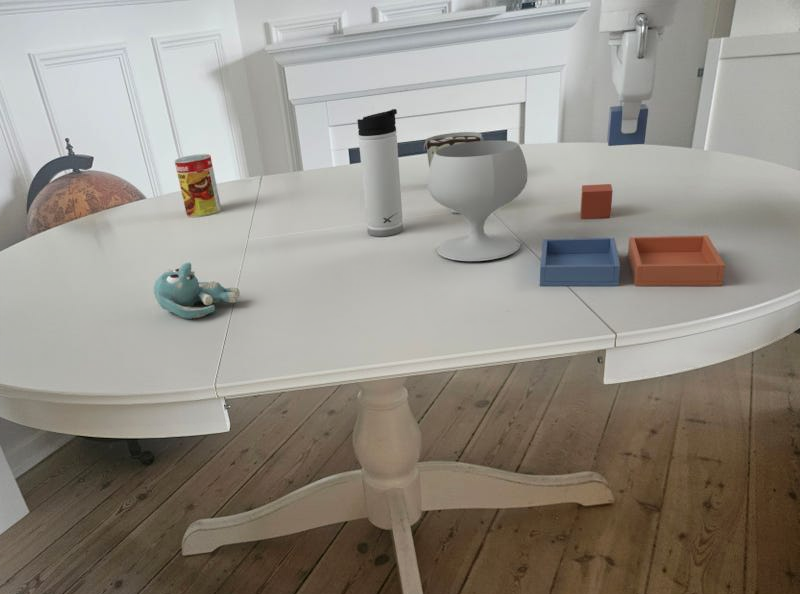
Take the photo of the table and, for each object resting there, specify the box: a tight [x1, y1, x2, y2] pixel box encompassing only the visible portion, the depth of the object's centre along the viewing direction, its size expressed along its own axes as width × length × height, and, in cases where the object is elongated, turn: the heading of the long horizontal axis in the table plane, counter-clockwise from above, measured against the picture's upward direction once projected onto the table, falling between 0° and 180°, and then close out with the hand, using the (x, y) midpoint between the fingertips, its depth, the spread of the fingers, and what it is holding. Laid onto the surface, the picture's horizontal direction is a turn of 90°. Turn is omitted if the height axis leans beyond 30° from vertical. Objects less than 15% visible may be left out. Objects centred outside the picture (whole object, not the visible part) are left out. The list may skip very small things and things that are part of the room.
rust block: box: [580, 183, 614, 220], centre depth 103 cm, size 4×4×4 cm
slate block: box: [606, 103, 649, 147], centre depth 85 cm, size 4×4×4 cm
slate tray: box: [539, 237, 621, 287], centre depth 83 cm, size 9×11×3 cm
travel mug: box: [357, 108, 404, 238], centre depth 106 cm, size 6×7×20 cm
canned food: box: [174, 153, 222, 218], centre depth 140 cm, size 8×8×12 cm
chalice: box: [427, 139, 528, 262], centre depth 93 cm, size 14×14×15 cm
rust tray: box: [627, 234, 726, 287], centre depth 79 cm, size 9×11×3 cm
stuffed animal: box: [153, 261, 241, 320], centre depth 88 cm, size 11×7×12 cm
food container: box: [423, 131, 485, 169], centre depth 134 cm, size 12×6×10 cm, turn 80°
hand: (626, 128), depth 85 cm, fingers closed on slate block, 4 cm apart
